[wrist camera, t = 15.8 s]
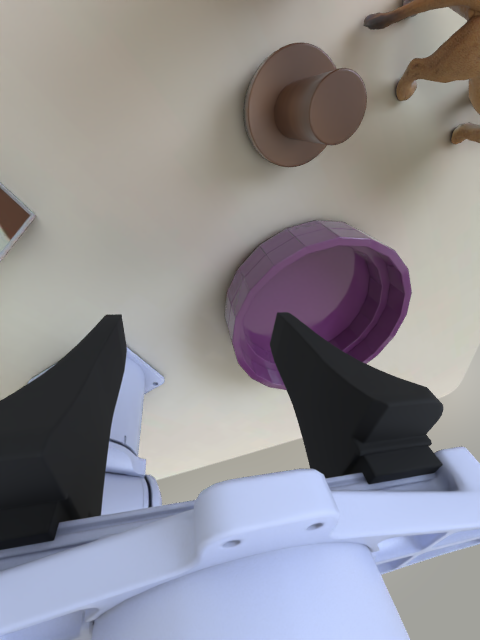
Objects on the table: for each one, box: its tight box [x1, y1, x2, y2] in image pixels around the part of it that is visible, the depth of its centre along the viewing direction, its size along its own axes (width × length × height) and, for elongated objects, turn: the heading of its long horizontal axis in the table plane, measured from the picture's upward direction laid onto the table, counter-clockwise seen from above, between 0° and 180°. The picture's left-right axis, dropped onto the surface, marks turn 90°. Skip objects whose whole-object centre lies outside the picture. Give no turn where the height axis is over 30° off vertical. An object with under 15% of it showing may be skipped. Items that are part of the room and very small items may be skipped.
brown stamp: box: [244, 43, 367, 167], centre depth 15 cm, size 6×6×7 cm
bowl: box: [225, 220, 412, 390], centre depth 25 cm, size 15×15×4 cm
